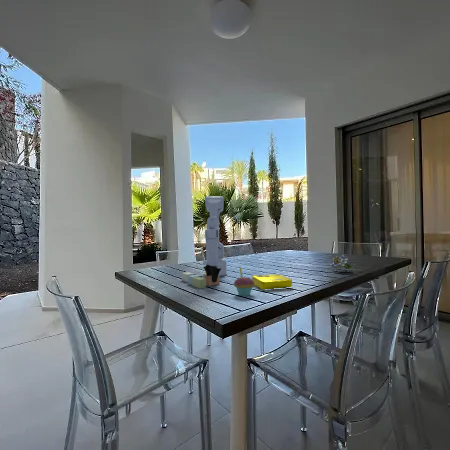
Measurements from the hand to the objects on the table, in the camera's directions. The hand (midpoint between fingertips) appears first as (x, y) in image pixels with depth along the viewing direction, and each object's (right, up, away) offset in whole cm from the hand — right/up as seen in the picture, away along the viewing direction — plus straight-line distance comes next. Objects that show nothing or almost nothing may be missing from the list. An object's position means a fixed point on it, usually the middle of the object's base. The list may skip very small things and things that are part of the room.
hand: (212, 281), depth 142 cm
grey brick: (-13, -2, +8) cm, 15 cm away
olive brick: (-6, -2, -5) cm, 8 cm away
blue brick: (-8, -2, +2) cm, 9 cm away
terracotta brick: (0, -1, 0) cm, 1 cm away
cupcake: (+14, -2, -19) cm, 24 cm away
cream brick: (-3, -1, +9) cm, 9 cm away
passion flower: (+76, -1, +33) cm, 82 cm away
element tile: (+28, -2, -4) cm, 28 cm away
